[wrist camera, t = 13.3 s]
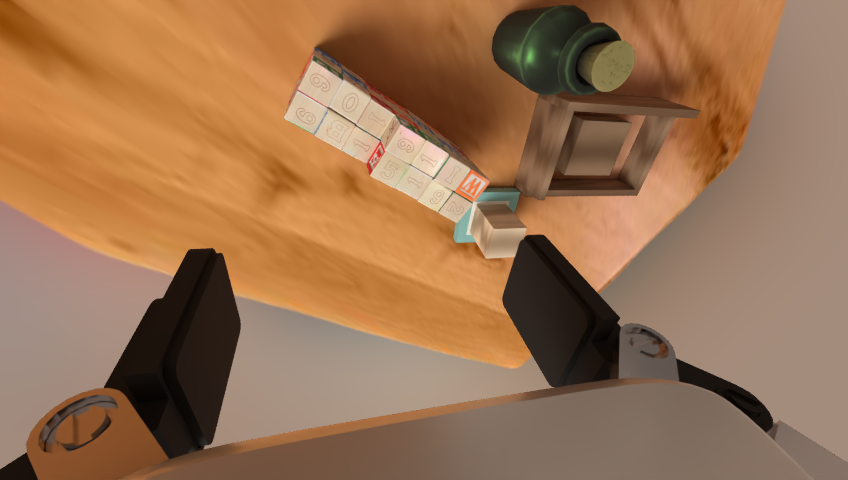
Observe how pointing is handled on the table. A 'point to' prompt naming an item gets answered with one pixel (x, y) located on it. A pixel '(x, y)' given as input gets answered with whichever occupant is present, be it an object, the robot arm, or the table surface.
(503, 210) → the beech block
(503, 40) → the potion bottle
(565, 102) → the brown wooden tray
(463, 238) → the teal picture frame
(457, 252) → the table surface
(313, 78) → the stack of blocks
